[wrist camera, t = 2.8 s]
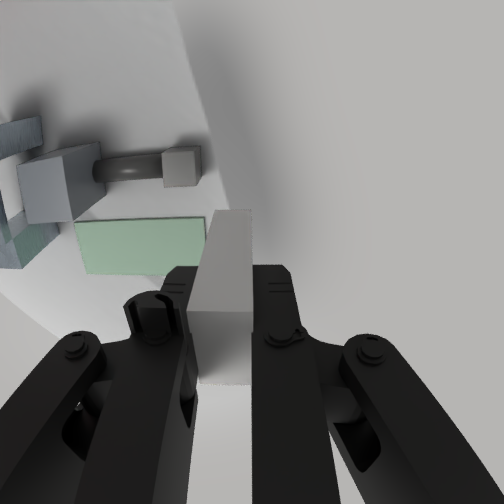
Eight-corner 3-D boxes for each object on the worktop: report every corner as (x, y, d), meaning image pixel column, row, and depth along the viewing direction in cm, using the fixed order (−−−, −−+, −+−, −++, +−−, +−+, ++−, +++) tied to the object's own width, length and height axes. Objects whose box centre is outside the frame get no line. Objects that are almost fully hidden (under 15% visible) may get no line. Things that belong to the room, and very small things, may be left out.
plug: (64, 198, 30) (28, 224, 23) (56, 149, 27) (16, 165, 21) (202, 190, 30) (188, 216, 24) (199, 131, 27) (184, 141, 21)
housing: (27, 235, 32) (-15, 273, 23) (8, 126, 25) (-47, 143, 16) (59, 234, 32) (16, 275, 23) (40, 115, 25) (-17, 129, 16)
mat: (88, 272, 35) (86, 274, 34) (75, 222, 31) (73, 223, 31) (208, 273, 35) (207, 275, 35) (203, 217, 32) (203, 218, 31)
